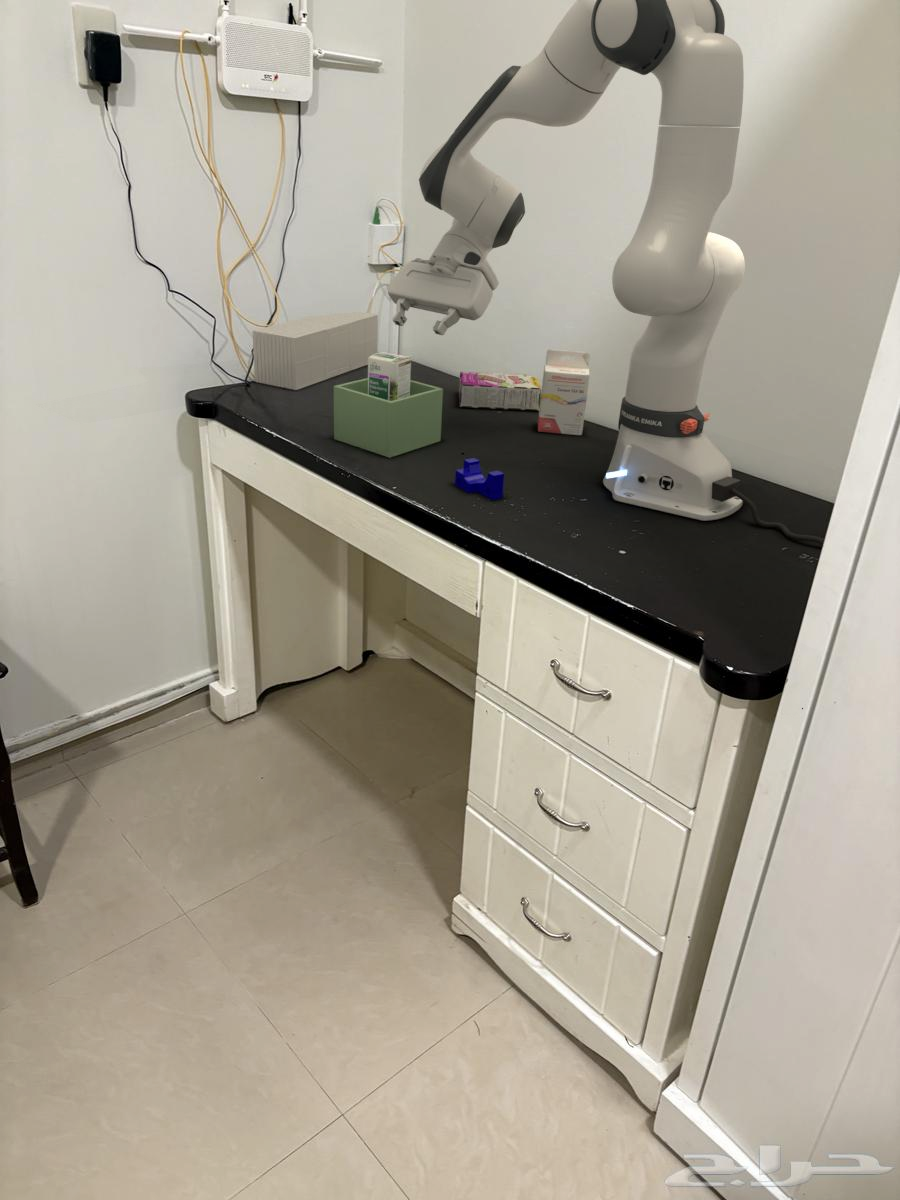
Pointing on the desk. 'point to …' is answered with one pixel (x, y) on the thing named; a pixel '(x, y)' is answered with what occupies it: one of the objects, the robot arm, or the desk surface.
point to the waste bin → (387, 418)
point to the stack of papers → (313, 348)
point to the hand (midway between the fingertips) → (417, 328)
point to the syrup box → (389, 376)
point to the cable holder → (479, 480)
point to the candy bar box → (499, 391)
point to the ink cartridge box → (564, 392)
